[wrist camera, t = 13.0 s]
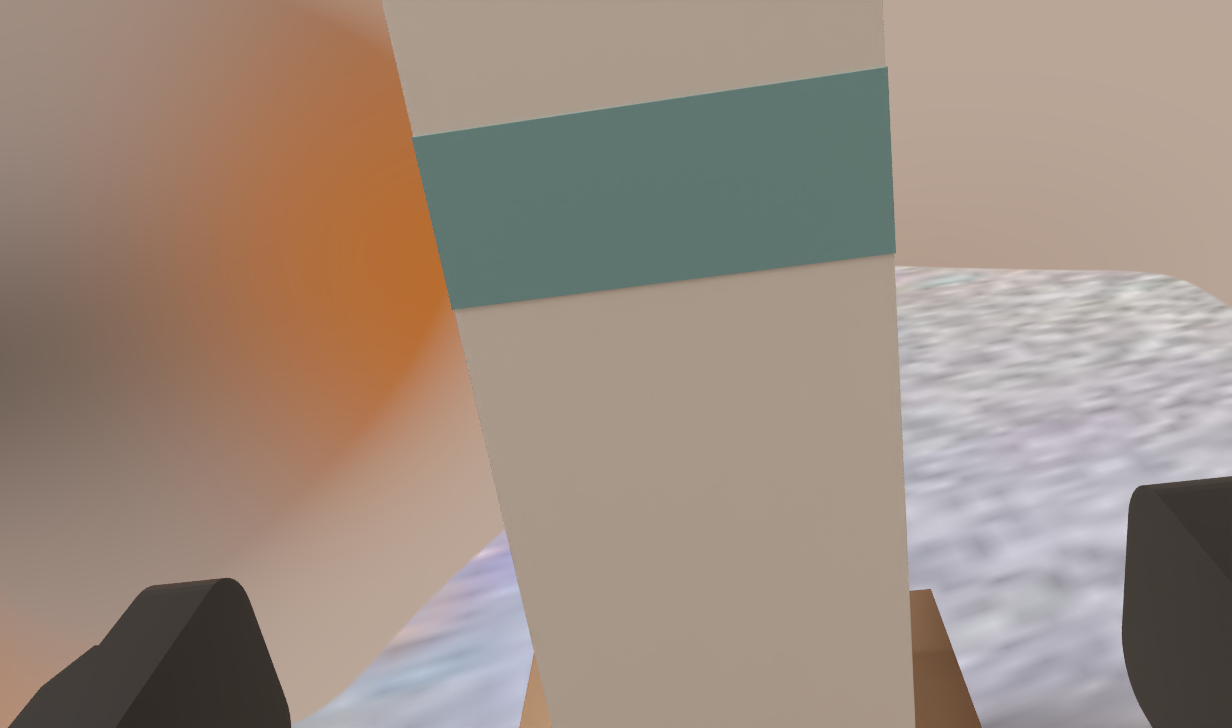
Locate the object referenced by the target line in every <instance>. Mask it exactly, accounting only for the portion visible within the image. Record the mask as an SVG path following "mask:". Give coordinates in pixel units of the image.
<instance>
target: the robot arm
mask: <svg viewBox="0 0 1232 728" xmlns="http://www.w3.org/2000/svg"><path fill="white" fill-rule="evenodd" d="M1122 644H1123V653H1124V659H1125V664H1126V668H1127V672H1128V676H1129V679H1130V683H1131V686H1132V688H1133V691H1134V694H1135V696H1136V698H1137V701H1138V703H1139V705H1140V707H1141V709H1142V711H1143V712H1144V714H1145V716H1146V717H1147V719H1148V721H1149V723H1150V724H1151V726H1152V728H1232V476H1230V477H1220V478H1210V479H1201V480H1191V481H1181V482H1172V483H1162V484H1152V485H1143V486H1139V487H1138V488H1136V489H1135V491H1134V492H1133V494H1132V497H1131V500H1130V504H1129V513H1128V529H1127V547H1126V565H1125V583H1124V602H1123V620H1122ZM8 728H291V720H290V713H289V708H288V704H287V702H286V698H285V696H284V693H283V690H282V687H281V685H280V682H279V679H278V677H277V674H276V671H275V668H274V666H273V663H272V660H271V657H270V655H269V652H268V649H267V646H266V644H265V641H264V639H263V636H262V633H261V630H260V628H259V625H258V622H257V619H256V617H255V614H254V611H253V608H252V606H251V603H250V600H249V598H248V596H247V594H246V592H245V590H244V589H243V587H242V586H241V585H240V584H239V583H238V582H237V581H236V580H234V579H231V578H221V579H211V580H203V581H192V582H182V583H173V584H163V585H153V586H150V587H148V588H146V589H145V590H143V591H142V592H141V593H140V594H139V595H138V596H137V597H136V598H135V600H134V601H133V602H132V604H131V605H130V606H129V607H128V609H127V610H126V611H125V612H124V614H123V615H122V616H121V618H120V619H119V620H118V621H117V623H116V624H115V625H114V627H113V628H112V629H111V630H110V632H109V633H108V634H107V635H106V637H105V638H104V639H103V641H102V642H101V643H100V644H99V645H97V646H93V647H92V648H91V649H90V650H88V651H87V652H86V653H84V654H83V655H82V656H80V657H79V658H78V659H77V660H75V661H74V662H73V663H71V664H70V665H69V666H68V667H66V668H65V669H64V670H62V671H61V672H60V673H59V674H57V675H56V676H55V677H54V678H52V679H51V680H50V681H49V682H47V683H46V684H45V685H43V686H42V687H41V688H40V689H39V690H38V692H37V693H36V694H35V695H34V696H33V698H32V699H31V700H30V701H29V703H28V704H27V705H26V706H25V708H24V709H23V710H22V711H21V712H20V714H19V715H18V716H17V717H16V719H15V720H14V721H13V722H12V724H11V725H10V726H9V727H8Z"/></svg>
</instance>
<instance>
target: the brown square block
mask: <svg viewBox="0 0 1232 728" xmlns="http://www.w3.org/2000/svg"><path fill="white" fill-rule="evenodd" d="M909 596H910V618H911V640H912V662H913V684H914V706H915V728H982V727H981V724H980V722H979V719H978V716H977V714H976V711H975V708H974V705H973V703H972V700H971V697H970V695H969V692H968V689H967V686H966V684H965V681H964V678H963V676H962V673H961V670H960V667H959V665H958V662H957V659H956V656H955V654H954V651H953V648H952V646H951V643H950V640H949V637H948V635H947V632H946V629H945V627H944V624H943V621H942V618H941V616H940V613H939V610H938V608H937V605H936V602H935V599H934V597H933V594H932V591H931V589H926V590H915V591H909ZM519 728H552V726H551V721H550V717H549V713H548V708H547V704H546V700H545V696H544V691H543V687H542V683H541V679H540V674H539V670H538V666H537V662H536V657H535V653H534V656H533V661H532V666H531V671H530V676H529V681H528V686H527V691H526V696H525V701H524V706H523V711H522V717H521V722H520V727H519Z"/></svg>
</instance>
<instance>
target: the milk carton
mask: <svg viewBox="0 0 1232 728" xmlns="http://www.w3.org/2000/svg"><path fill="white" fill-rule="evenodd" d="M382 5H383V9H384V13H385V17H386V22H387V26H388V30H389V35H390V39H391V43H392V47H393V51H394V56H395V60H396V64H397V69H398V73H399V77H400V81H401V85H402V90H403V94H404V99H405V103H406V107H407V111H408V115H409V120H410V124H411V128H412V133H413V137H412V141H413V145H414V149H415V154H416V158H417V162H418V166H419V170H420V175H421V179H422V184H423V188H424V192H425V196H426V200H427V205H428V209H429V213H430V218H431V222H432V226H433V230H434V234H435V239H436V243H437V247H438V251H439V255H440V260H441V264H442V269H443V273H444V277H445V281H446V286H447V290H448V294H449V298H450V303H451V307H452V310H454V312H455V316H456V320H457V325H458V329H459V333H460V337H461V342H462V346H463V350H464V354H465V358H466V363H467V367H468V371H469V376H470V380H471V384H472V388H473V393H474V397H475V401H476V406H477V410H478V414H479V418H480V422H481V427H482V431H483V435H484V439H485V444H486V448H487V452H488V457H489V461H490V465H491V469H492V474H493V478H494V482H495V487H496V491H497V495H498V499H499V504H500V508H501V512H502V517H503V521H504V525H505V529H506V534H507V538H508V542H509V546H510V551H511V555H512V559H513V563H514V568H515V572H516V576H517V581H518V585H519V589H520V593H521V598H522V602H523V606H524V610H525V615H526V619H527V623H528V627H529V632H530V636H531V640H532V645H533V649H534V653H535V657H536V662H537V666H538V670H539V674H540V679H541V683H542V687H543V691H544V696H545V700H546V704H547V708H548V713H549V717H550V721H551V726H552V728H915V706H914V684H913V662H912V640H911V618H910V596H909V574H908V552H907V530H906V507H905V485H904V463H903V441H902V419H901V397H900V375H899V353H898V331H897V309H896V286H895V264H894V253H896V246H895V226H894V225H895V223H894V202H893V178H892V158H891V157H892V156H891V134H890V111H889V89H888V67H887V66H886V65H885V44H884V21H883V0H382Z"/></svg>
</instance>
